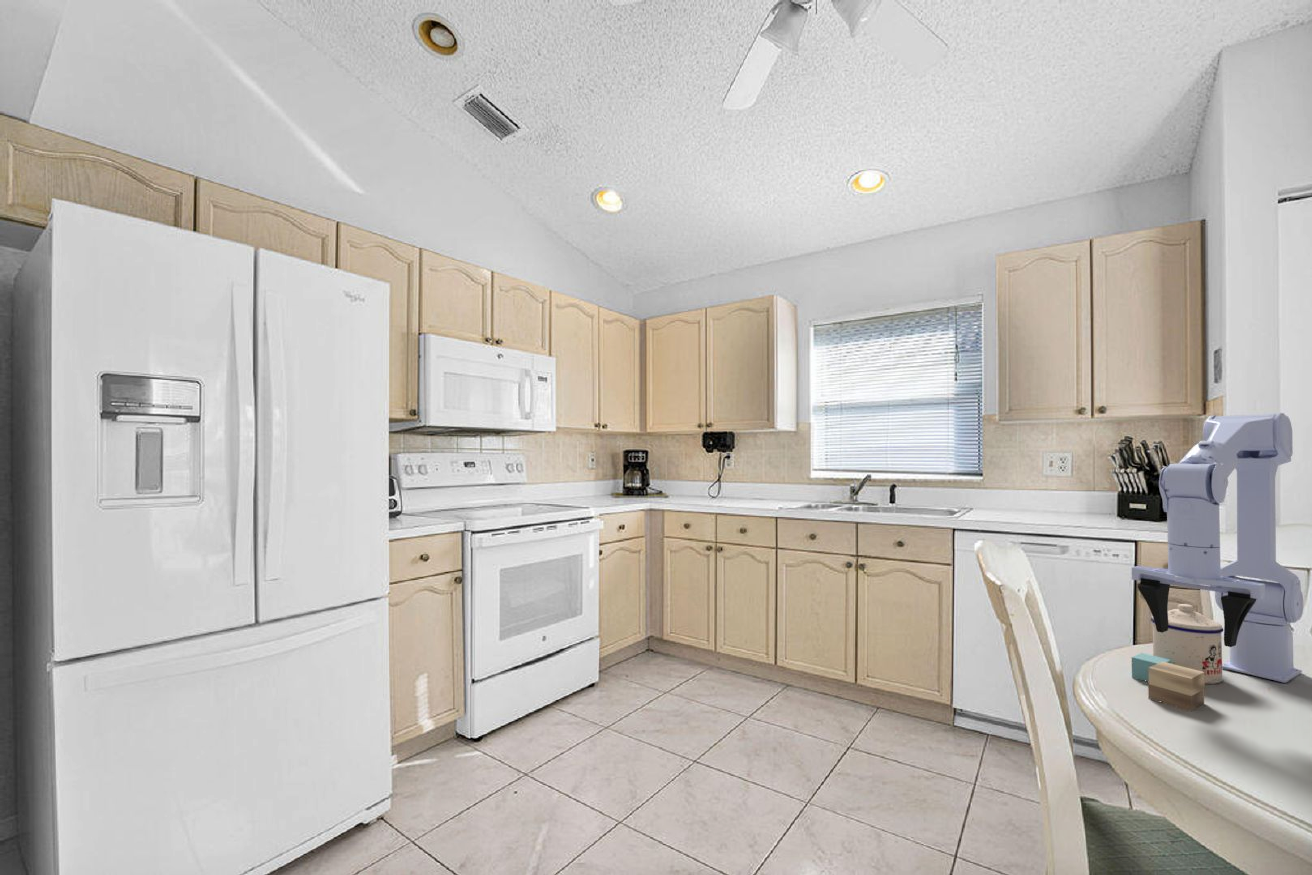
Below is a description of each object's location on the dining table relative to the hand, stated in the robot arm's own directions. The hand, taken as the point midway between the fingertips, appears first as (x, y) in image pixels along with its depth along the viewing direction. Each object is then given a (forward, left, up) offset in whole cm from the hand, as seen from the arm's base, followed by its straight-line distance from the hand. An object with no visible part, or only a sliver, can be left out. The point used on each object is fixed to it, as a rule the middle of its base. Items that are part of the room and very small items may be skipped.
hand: (1195, 637), depth 86 cm
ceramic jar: (-17, -6, -10) cm, 21 cm away
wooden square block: (0, -2, -10) cm, 11 cm away
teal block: (-8, -8, -10) cm, 15 cm away
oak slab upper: (0, -2, -8) cm, 8 cm away
